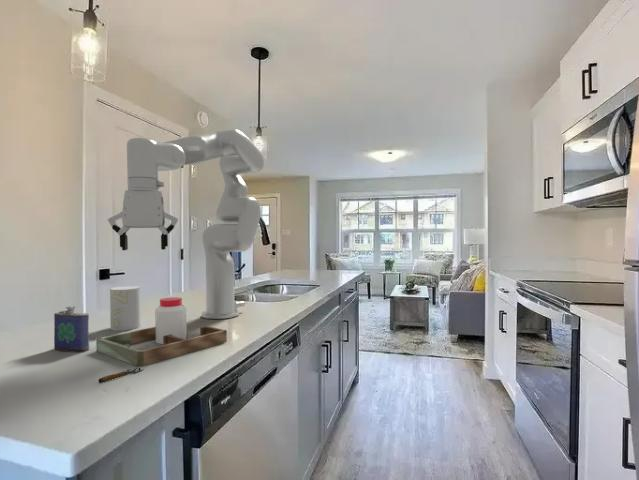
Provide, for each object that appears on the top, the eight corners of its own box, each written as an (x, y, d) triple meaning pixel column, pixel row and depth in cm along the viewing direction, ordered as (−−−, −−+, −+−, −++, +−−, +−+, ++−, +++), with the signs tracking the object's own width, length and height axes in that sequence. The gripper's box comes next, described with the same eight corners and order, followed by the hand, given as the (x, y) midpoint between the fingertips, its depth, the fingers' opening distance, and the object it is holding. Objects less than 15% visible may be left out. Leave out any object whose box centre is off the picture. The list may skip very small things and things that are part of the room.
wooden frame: (182, 331, 115) (182, 320, 115) (226, 341, 104) (226, 330, 104) (96, 351, 96) (96, 338, 96) (139, 366, 85) (138, 352, 85)
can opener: (100, 385, 75) (100, 378, 75) (95, 382, 77) (95, 376, 77) (146, 372, 82) (146, 366, 82) (140, 369, 84) (140, 364, 84)
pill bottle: (156, 338, 108) (155, 297, 108) (186, 335, 111) (185, 296, 111) (155, 345, 101) (154, 302, 101) (187, 342, 104) (186, 300, 103)
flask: (91, 349, 98) (90, 305, 97) (82, 352, 95) (81, 308, 95) (60, 347, 100) (59, 304, 99) (49, 350, 97) (48, 306, 97)
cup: (104, 328, 119) (104, 288, 119) (128, 323, 126) (128, 285, 126) (122, 331, 115) (121, 290, 115) (146, 326, 122) (145, 287, 122)
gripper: (178, 187, 112) (179, 248, 113) (111, 186, 108) (113, 249, 109) (175, 184, 105) (176, 249, 105) (103, 183, 101) (105, 251, 101)
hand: (144, 249), depth 107 cm, fingers open, 9 cm apart
